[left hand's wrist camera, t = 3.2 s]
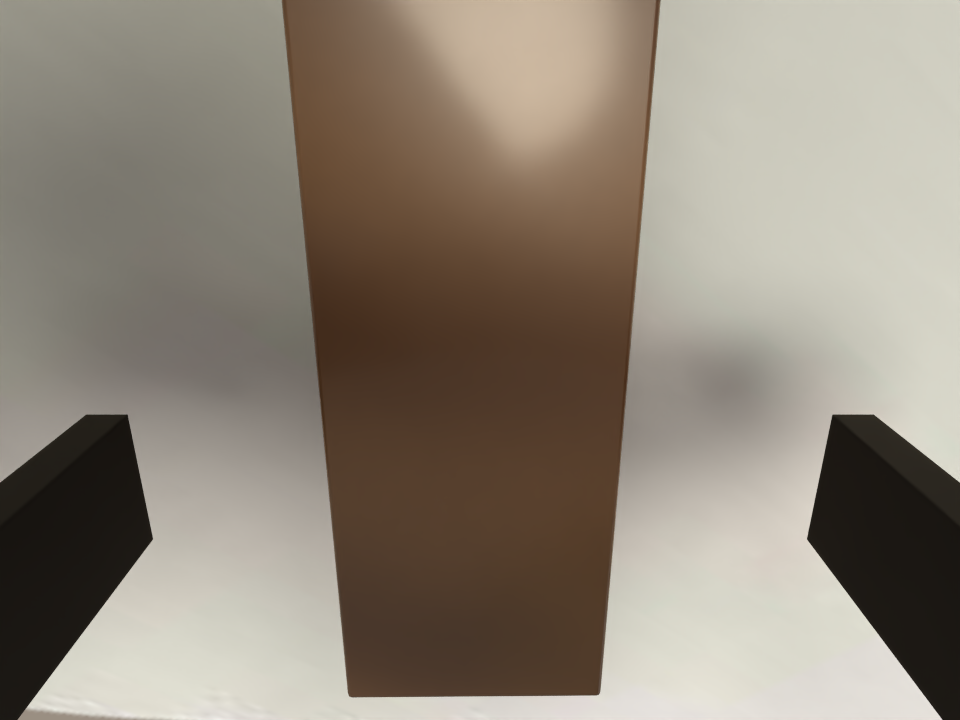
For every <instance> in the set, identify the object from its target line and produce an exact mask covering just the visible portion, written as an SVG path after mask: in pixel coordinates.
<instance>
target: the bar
mask: <svg viewBox="0 0 960 720" xmlns="http://www.w3.org/2000/svg"><path fill="white" fill-rule="evenodd" d="M660 1H661V0H282V8H283V18H284V28H285V39H286V49H287V60H288V70H289V81H290V91H291V102H292V112H293V123H294V133H295V144H296V154H297V164H298V175H299V185H300V196H301V206H302V217H303V227H304V238H305V248H306V259H307V269H308V280H309V290H310V300H311V311H312V321H313V332H314V342H315V353H316V363H317V374H318V384H319V395H320V405H321V416H322V426H323V436H324V447H325V457H326V468H327V478H328V489H329V499H330V510H331V520H332V531H333V541H334V552H335V562H336V572H337V583H338V593H339V604H340V614H341V625H342V635H343V646H344V656H345V667H346V677H347V688H348V694H349V696H350V697H444V696H572V695H599V693H600V689H601V678H602V667H603V655H604V644H605V632H606V621H607V609H608V598H609V586H610V575H611V563H612V552H613V540H614V529H615V517H616V506H617V495H618V483H619V472H620V460H621V449H622V437H623V426H624V414H625V403H626V391H627V380H628V368H629V357H630V345H631V334H632V323H633V311H634V300H635V288H636V277H637V265H638V254H639V242H640V231H641V219H642V208H643V196H644V185H645V173H646V162H647V150H648V139H649V128H650V116H651V105H652V93H653V82H654V70H655V59H656V47H657V36H658V24H659V13H660Z"/></svg>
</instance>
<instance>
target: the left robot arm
mask: <svg viewBox="0 0 960 720" xmlns="http://www.w3.org/2000/svg"><path fill="white" fill-rule="evenodd" d="M152 540H153V537H152V532H151V527H150V522H149V517H148V513H147V508H146V503H145V498H144V493H143V488H142V483H141V478H140V473H139V469H138V464H137V459H136V454H135V449H134V444H133V439H132V434H131V429H130V425H129V420H128V415H85V416H84V417H83V418H82V419H80V420H79V421H78V422H76V423H75V424H74V425H73V426H71V427H70V428H69V429H68V430H66V431H65V432H64V433H63V434H61V435H60V436H59V437H57V438H56V439H55V440H54V441H52V442H51V443H50V444H49V445H47V446H46V447H45V448H44V449H42V450H41V451H40V452H38V453H37V454H36V455H35V456H33V457H32V458H31V459H30V460H28V461H27V462H26V463H25V464H23V465H22V466H21V467H20V468H18V469H17V470H16V471H14V472H13V473H12V474H11V475H9V476H8V477H7V478H6V479H4V480H3V481H2V482H1V483H0V720H18V718H19V717H20V716H21V714H22V713H23V712H24V710H25V709H26V708H27V706H28V705H29V704H30V702H31V701H32V700H33V698H34V697H35V696H36V694H37V693H38V692H39V690H40V689H41V688H42V686H43V685H44V684H45V682H46V681H47V680H48V678H49V677H50V676H51V674H52V673H53V672H54V670H55V669H56V668H57V666H58V665H59V664H60V662H61V661H62V660H63V658H64V657H65V656H66V654H67V653H68V652H69V650H70V649H71V648H72V646H73V645H74V644H75V642H76V641H77V640H78V638H79V637H80V636H81V634H82V633H83V632H84V630H85V629H86V628H87V626H88V625H89V624H90V622H91V621H92V620H93V618H94V617H95V616H96V614H97V613H98V612H99V610H100V609H101V608H102V606H103V605H104V604H105V602H106V601H107V600H108V598H109V597H110V596H111V594H112V593H113V592H114V590H115V589H116V588H117V586H118V585H119V584H120V582H121V581H122V580H123V578H124V577H125V576H126V574H127V573H128V572H129V570H130V569H131V568H132V566H133V565H134V564H135V562H136V561H137V560H138V558H139V557H140V556H141V554H142V553H143V552H144V550H145V549H146V548H147V546H148V545H149V544H150V542H151V541H152ZM807 540H808V541H809V542H810V544H811V545H812V546H813V548H814V549H815V550H816V552H817V553H818V554H819V556H820V557H821V558H822V560H823V561H824V562H825V564H826V565H827V566H828V568H829V569H830V570H831V572H832V573H833V574H834V576H835V577H836V578H837V580H838V581H839V582H840V584H841V585H842V586H843V588H844V589H845V590H846V592H847V593H848V594H849V596H850V597H851V598H852V600H853V601H854V602H855V604H856V605H857V606H858V608H859V609H860V610H861V612H862V613H863V614H864V616H865V617H866V618H867V620H868V621H869V622H870V624H871V625H872V626H873V628H874V629H875V630H876V632H877V633H878V634H879V636H880V637H881V638H882V640H883V641H884V642H885V644H886V645H887V646H888V648H889V649H890V650H891V652H892V653H893V654H894V656H895V657H896V658H897V660H898V661H899V662H900V664H901V665H902V666H903V668H904V669H905V670H906V672H907V673H908V674H909V676H910V677H911V678H912V680H913V681H914V682H915V684H916V685H917V686H918V688H919V689H920V690H921V692H922V693H923V694H924V696H925V697H926V698H927V700H928V701H929V702H930V704H931V705H932V706H933V708H934V709H935V710H936V712H937V713H938V714H939V716H940V717H941V718H942V720H960V483H959V482H958V481H957V480H956V479H954V478H953V477H952V476H951V475H949V474H948V473H947V472H946V471H944V470H943V469H942V468H940V467H939V466H938V465H937V464H935V463H934V462H933V461H932V460H930V459H929V458H928V457H927V456H925V455H924V454H923V453H922V452H920V451H919V450H918V449H916V448H915V447H914V446H913V445H911V444H910V443H909V442H908V441H906V440H905V439H904V438H903V437H901V436H900V435H899V434H897V433H896V432H895V431H894V430H892V429H891V428H890V427H889V426H887V425H886V424H885V423H884V422H882V421H881V420H880V419H878V418H877V417H876V416H875V415H832V420H831V425H830V429H829V434H828V439H827V444H826V449H825V454H824V459H823V464H822V469H821V473H820V478H819V483H818V488H817V493H816V498H815V503H814V508H813V513H812V517H811V522H810V527H809V532H808V537H807Z"/></svg>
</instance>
